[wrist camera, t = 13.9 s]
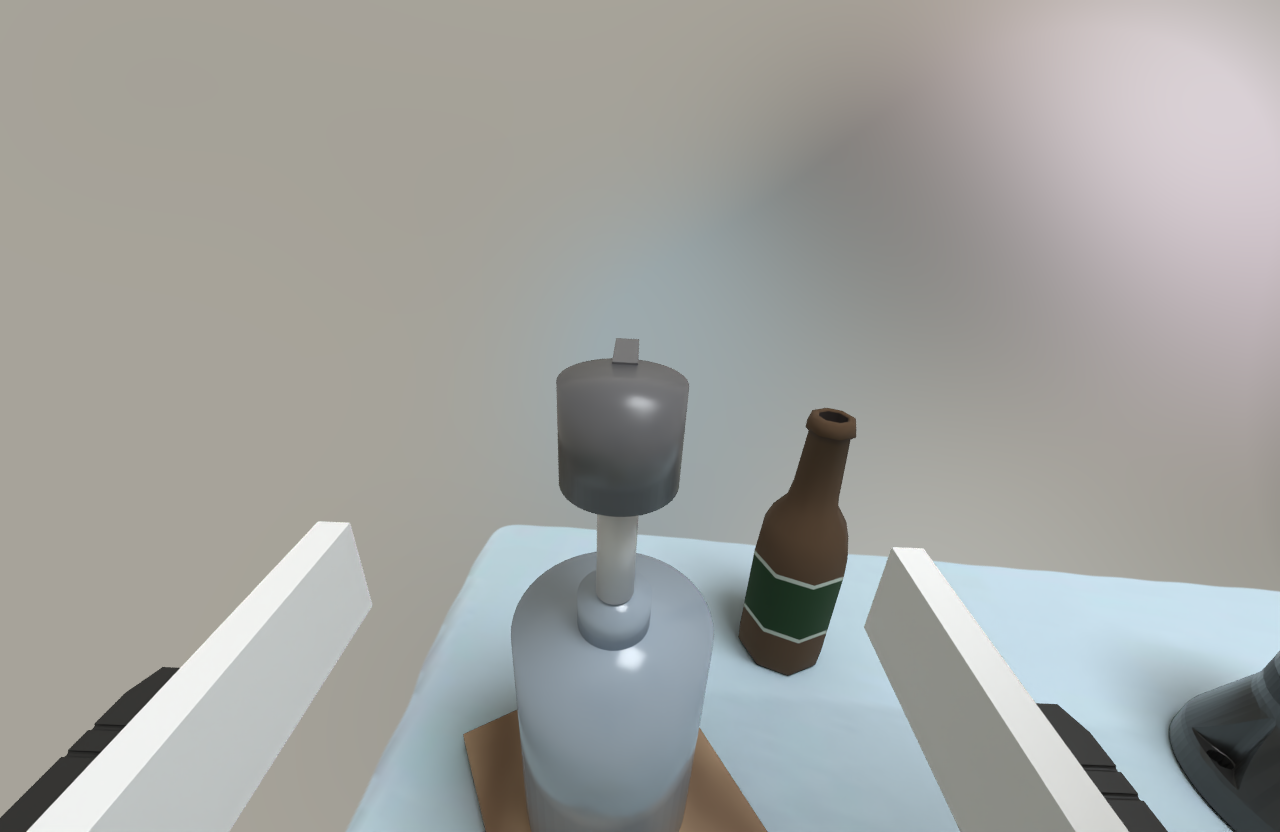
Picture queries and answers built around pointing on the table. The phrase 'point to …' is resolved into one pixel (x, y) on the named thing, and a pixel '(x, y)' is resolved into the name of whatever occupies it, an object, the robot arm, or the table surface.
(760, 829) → the walnut board
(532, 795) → the soap dispenser
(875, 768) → the table surface
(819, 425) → the beer bottle
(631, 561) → the pump plunger
